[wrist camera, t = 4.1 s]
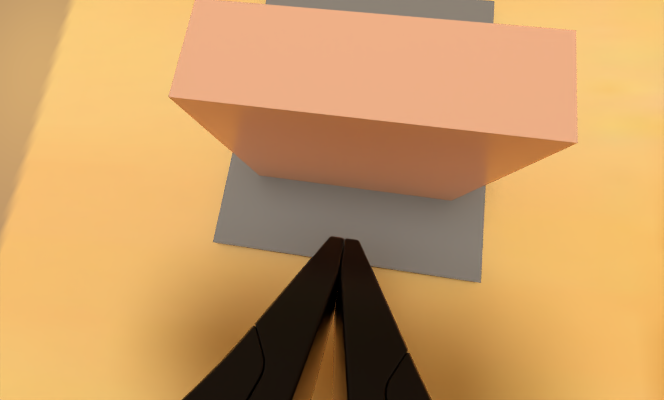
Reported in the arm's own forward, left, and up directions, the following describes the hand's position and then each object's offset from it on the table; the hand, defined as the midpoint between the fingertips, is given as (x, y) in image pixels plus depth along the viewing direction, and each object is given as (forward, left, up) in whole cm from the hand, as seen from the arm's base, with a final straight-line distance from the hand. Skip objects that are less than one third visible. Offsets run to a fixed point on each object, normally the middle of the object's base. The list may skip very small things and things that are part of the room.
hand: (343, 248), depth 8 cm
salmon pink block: (+4, -4, -4) cm, 7 cm away
